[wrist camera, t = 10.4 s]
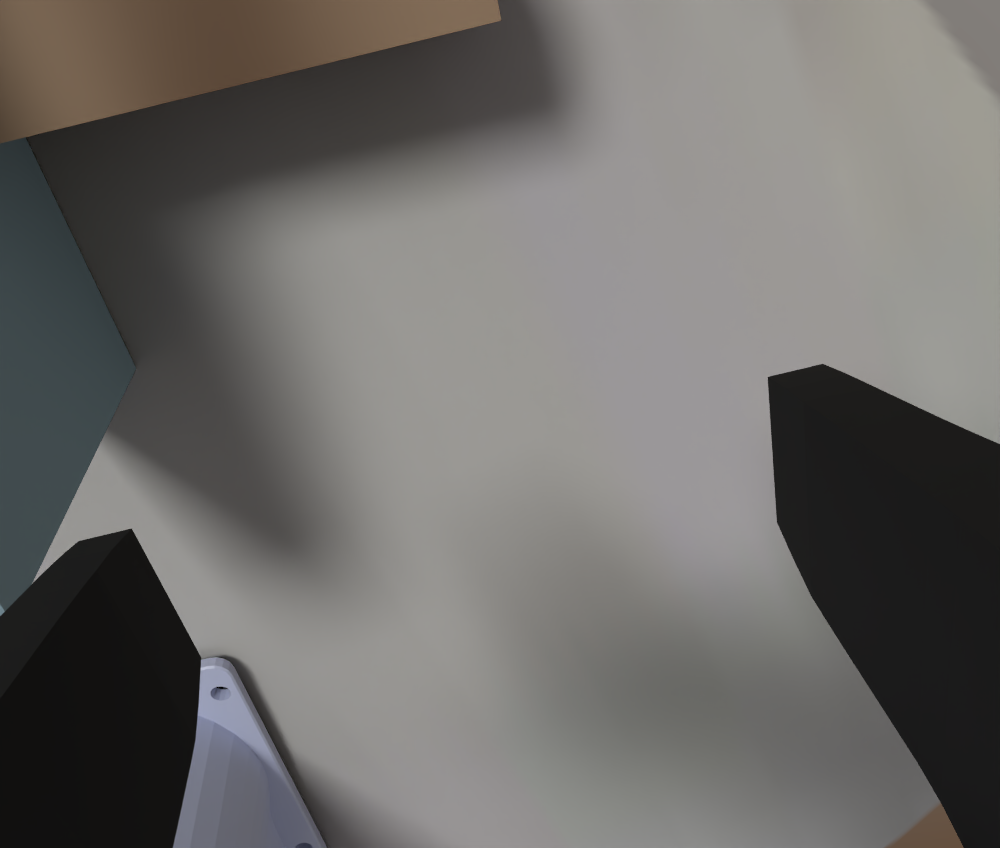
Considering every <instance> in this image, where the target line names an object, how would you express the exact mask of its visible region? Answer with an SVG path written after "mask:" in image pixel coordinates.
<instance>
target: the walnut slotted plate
mask: <svg viewBox="0 0 1000 848" xmlns="http://www.w3.org/2000/svg"><path fill="white" fill-rule="evenodd" d="M498 21H501V16H500V11H499V6H498V0H0V143H4V142H8V141H12V140H16V139H20V138H25V137H29V136H33V135H37V134H41V133H45V132H49V131H53V130H57V129H61V128H65V127H69V126H74V125H78V124H82V123H86V122H90V121H94V120H98V119H102V118H106V117H110V116H114V115H118V114H122V113H127V112H131V111H135V110H139V109H143V108H147V107H151V106H155V105H159V104H163V103H167V102H171V101H175V100H180V99H184V98H188V97H192V96H196V95H200V94H204V93H208V92H212V91H216V90H220V89H224V88H228V87H233V86H237V85H241V84H245V83H249V82H253V81H257V80H261V79H265V78H269V77H273V76H277V75H282V74H286V73H290V72H294V71H298V70H302V69H306V68H310V67H314V66H318V65H322V64H326V63H330V62H335V61H339V60H343V59H347V58H351V57H355V56H359V55H363V54H367V53H371V52H375V51H379V50H383V49H388V48H392V47H396V46H400V45H404V44H408V43H412V42H416V41H420V40H424V39H428V38H432V37H437V36H441V35H445V34H449V33H453V32H457V31H461V30H465V29H469V28H473V27H477V26H481V25H485V24H490V23H494V22H498Z"/></svg>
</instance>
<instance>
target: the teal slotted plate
mask: <svg viewBox="0 0 1000 848" xmlns="http://www.w3.org/2000/svg"><path fill="white" fill-rule="evenodd" d="M135 370H136V367H135V365H134V363H133V361H132V358H131V356H130V354H129V352H128V350H127V348H126V346H125V344H124V342H123V340H122V338H121V336H120V333H119V331H118V329H117V327H116V325H115V323H114V321H113V319H112V317H111V315H110V313H109V311H108V308H107V306H106V304H105V302H104V300H103V298H102V296H101V294H100V292H99V290H98V288H97V285H96V283H95V281H94V279H93V277H92V275H91V273H90V271H89V269H88V267H87V265H86V263H85V260H84V258H83V256H82V254H81V252H80V250H79V248H78V246H77V244H76V242H75V240H74V237H73V235H72V233H71V231H70V229H69V227H68V225H67V223H66V221H65V219H64V217H63V215H62V212H61V210H60V208H59V206H58V204H57V202H56V200H55V198H54V196H53V194H52V192H51V190H50V187H49V185H48V183H47V181H46V179H45V177H44V175H43V173H42V171H41V169H40V167H39V164H38V162H37V160H36V158H35V156H34V154H33V152H32V150H31V148H30V146H29V144H28V142H27V139H26V137H25V138H20V139H16V140H12V141H8V142H4V143H0V616H1V615H2V614H3V613H4V612H5V611H6V610H7V609H8V608H9V607H10V606H11V605H12V604H13V603H14V602H15V601H16V600H17V599H18V598H19V597H20V596H21V595H22V594H23V593H24V592H25V591H26V590H27V589H28V588H29V587H30V586H31V584H32V582H33V580H34V578H35V576H36V574H37V572H38V570H39V568H40V566H41V564H42V562H43V560H44V558H45V556H46V554H47V551H48V549H49V547H50V545H51V543H52V541H53V539H54V537H55V535H56V533H57V531H58V529H59V527H60V525H61V523H62V521H63V519H64V516H65V514H66V512H67V510H68V508H69V506H70V504H71V502H72V500H73V498H74V496H75V494H76V492H77V490H78V488H79V486H80V483H81V481H82V479H83V477H84V475H85V473H86V471H87V469H88V467H89V465H90V463H91V461H92V459H93V457H94V455H95V453H96V450H97V448H98V446H99V444H100V442H101V440H102V438H103V436H104V434H105V432H106V430H107V428H108V426H109V424H110V422H111V420H112V418H113V415H114V413H115V411H116V409H117V407H118V405H119V403H120V401H121V399H122V397H123V395H124V393H125V391H126V389H127V387H128V385H129V382H130V380H131V378H132V376H133V374H134V372H135Z"/></svg>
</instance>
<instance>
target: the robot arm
mask: <svg viewBox="0 0 1000 848" xmlns="http://www.w3.org/2000/svg"><path fill="white" fill-rule="evenodd" d="M768 388H769V403H770V419H771V435H772V451H773V466H774V482H775V498H776V514H777V523H778V525H779V528H780V530H781V532H782V534H783V536H784V539H785V541H786V543H787V545H788V548H789V550H790V552H791V554H792V556H793V559H794V561H795V563H796V565H797V567H798V569H799V571H800V573H801V576H802V578H803V580H804V582H805V584H806V586H807V588H808V590H809V592H810V594H811V596H812V598H813V600H814V601H815V603H816V604H817V606H818V608H819V609H820V611H821V612H822V614H823V616H824V617H825V619H826V620H827V622H828V624H829V625H830V627H831V628H832V630H833V631H834V633H835V635H836V636H837V638H838V639H839V641H840V643H841V644H842V646H843V647H844V649H845V650H846V652H847V654H848V655H849V657H850V658H851V660H852V661H853V663H854V664H855V666H856V668H857V669H858V671H859V672H860V674H861V675H862V677H863V678H864V680H865V682H866V683H867V685H868V686H869V688H870V689H871V691H872V692H873V694H874V696H875V697H876V699H877V700H878V702H879V703H880V705H881V706H882V708H883V710H884V711H885V713H886V714H887V716H888V717H889V719H890V720H891V722H892V724H893V725H894V727H895V728H896V730H897V731H898V733H899V734H900V736H901V738H902V739H903V741H904V742H905V744H906V745H907V747H908V748H909V750H910V752H911V753H912V755H913V756H914V758H915V759H916V761H917V762H918V764H919V766H920V768H921V769H922V771H923V773H924V774H925V776H926V778H927V780H928V781H929V783H930V785H931V786H932V788H933V790H934V792H935V793H936V795H937V797H938V798H939V800H940V802H941V804H942V806H943V807H944V809H945V811H946V813H947V815H948V817H949V819H950V821H951V823H952V825H953V827H954V829H955V831H956V833H957V835H958V837H959V839H960V841H961V843H962V845H963V847H964V848H1000V444H998V443H996V442H993V441H991V440H989V439H986V438H984V437H982V436H979V435H977V434H975V433H973V432H970V431H968V430H966V429H964V428H961V427H959V426H957V425H955V424H953V423H950V422H948V421H946V420H944V419H942V418H939V417H937V416H935V415H933V414H931V413H929V412H926V411H924V410H922V409H920V408H918V407H916V406H914V405H912V404H909V403H907V402H905V401H903V400H901V399H899V398H897V397H895V396H893V395H890V394H888V393H886V392H884V391H882V390H880V389H878V388H876V387H873V386H871V385H869V384H867V383H865V382H863V381H861V380H859V379H856V378H854V377H852V376H850V375H848V374H845V373H843V372H841V371H839V370H836V369H834V368H831V367H829V366H826V365H824V364H821V365H816V366H812V367H808V368H804V369H800V370H795V371H791V372H787V373H783V374H779V375H774V376H770V377H768ZM222 686H223V687H225V688H228V689H219V688H216V687H222ZM0 848H327V846H326V844H325V842H324V840H323V839H322V837H321V835H320V833H319V831H318V829H317V827H316V825H315V823H314V821H313V819H312V817H311V815H310V813H309V811H308V809H307V807H306V806H305V804H304V802H303V800H302V798H301V796H300V794H299V792H298V790H297V788H296V786H295V784H294V782H293V780H292V778H291V776H290V774H289V773H288V771H287V769H286V767H285V765H284V763H283V761H282V759H281V757H280V755H279V753H278V751H277V749H276V747H275V745H274V743H273V741H272V740H271V738H270V736H269V734H268V732H267V730H266V728H265V726H264V724H263V722H262V720H261V718H260V716H259V714H258V712H257V710H256V708H255V706H254V705H253V703H252V701H251V699H250V697H249V695H248V693H247V691H246V689H245V687H244V685H243V683H242V681H241V679H240V677H239V675H238V673H237V672H236V670H235V668H234V666H233V665H232V664H231V663H230V662H229V661H227V660H225V659H223V658H218V657H214V658H206V659H202V660H201V657H200V655H199V653H198V651H197V649H196V647H195V645H194V644H193V642H192V640H191V638H190V636H189V634H188V632H187V631H186V629H185V627H184V625H183V623H182V621H181V619H180V618H179V616H178V614H177V612H176V610H175V608H174V606H173V605H172V603H171V601H170V599H169V597H168V595H167V593H166V592H165V590H164V588H163V586H162V584H161V582H160V580H159V579H158V577H157V575H156V573H155V571H154V569H153V567H152V565H151V564H150V562H149V560H148V558H147V556H146V554H145V552H144V551H143V549H142V547H141V545H140V543H139V541H138V539H137V538H136V536H135V534H134V532H133V530H132V529H128V530H124V531H120V532H115V533H111V534H107V535H103V536H99V537H94V538H90V539H86V540H82V541H78V542H77V543H76V544H75V545H74V546H73V547H71V548H70V549H69V550H68V551H67V552H65V553H64V554H63V555H62V556H61V557H60V558H59V559H58V560H56V561H55V562H54V563H53V564H52V565H51V566H50V567H49V568H48V569H47V570H46V571H45V572H44V573H43V574H42V575H41V576H40V577H39V578H38V579H37V580H36V581H35V582H34V583H33V584H32V585H31V586H30V587H29V588H28V589H27V590H26V591H25V592H24V593H23V594H22V595H21V596H20V597H19V598H18V599H17V600H16V601H15V602H14V603H13V604H12V605H11V606H10V607H9V608H8V609H7V610H6V611H5V612H4V613H3V614H2V615H1V616H0Z"/></svg>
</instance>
